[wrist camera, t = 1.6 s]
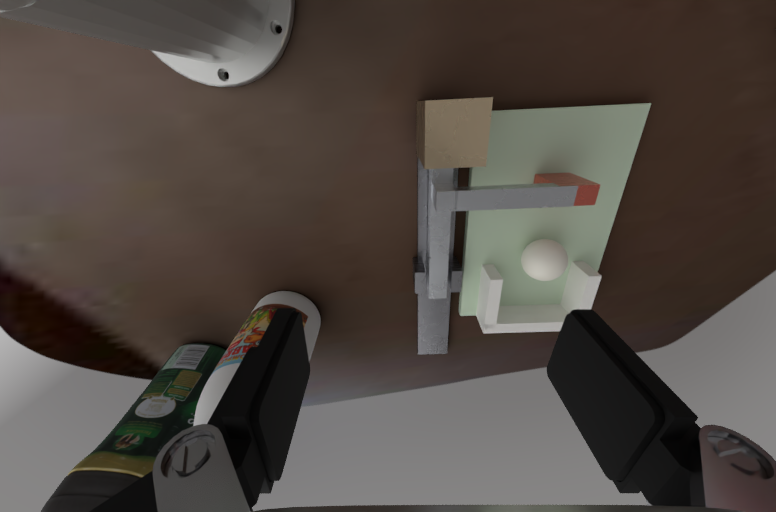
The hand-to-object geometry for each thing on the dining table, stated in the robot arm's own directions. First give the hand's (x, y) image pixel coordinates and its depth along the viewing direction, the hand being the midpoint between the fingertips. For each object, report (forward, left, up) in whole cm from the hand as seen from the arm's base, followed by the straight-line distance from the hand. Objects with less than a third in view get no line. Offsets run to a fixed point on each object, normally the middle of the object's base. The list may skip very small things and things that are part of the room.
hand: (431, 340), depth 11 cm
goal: (+11, +13, -19) cm, 26 cm away
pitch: (+4, +13, -20) cm, 24 cm away
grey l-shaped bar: (+1, +8, -19) cm, 20 cm away
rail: (+6, +3, -20) cm, 21 cm away
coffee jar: (+22, -26, -20) cm, 40 cm away
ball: (+6, +13, -17) cm, 22 cm away
